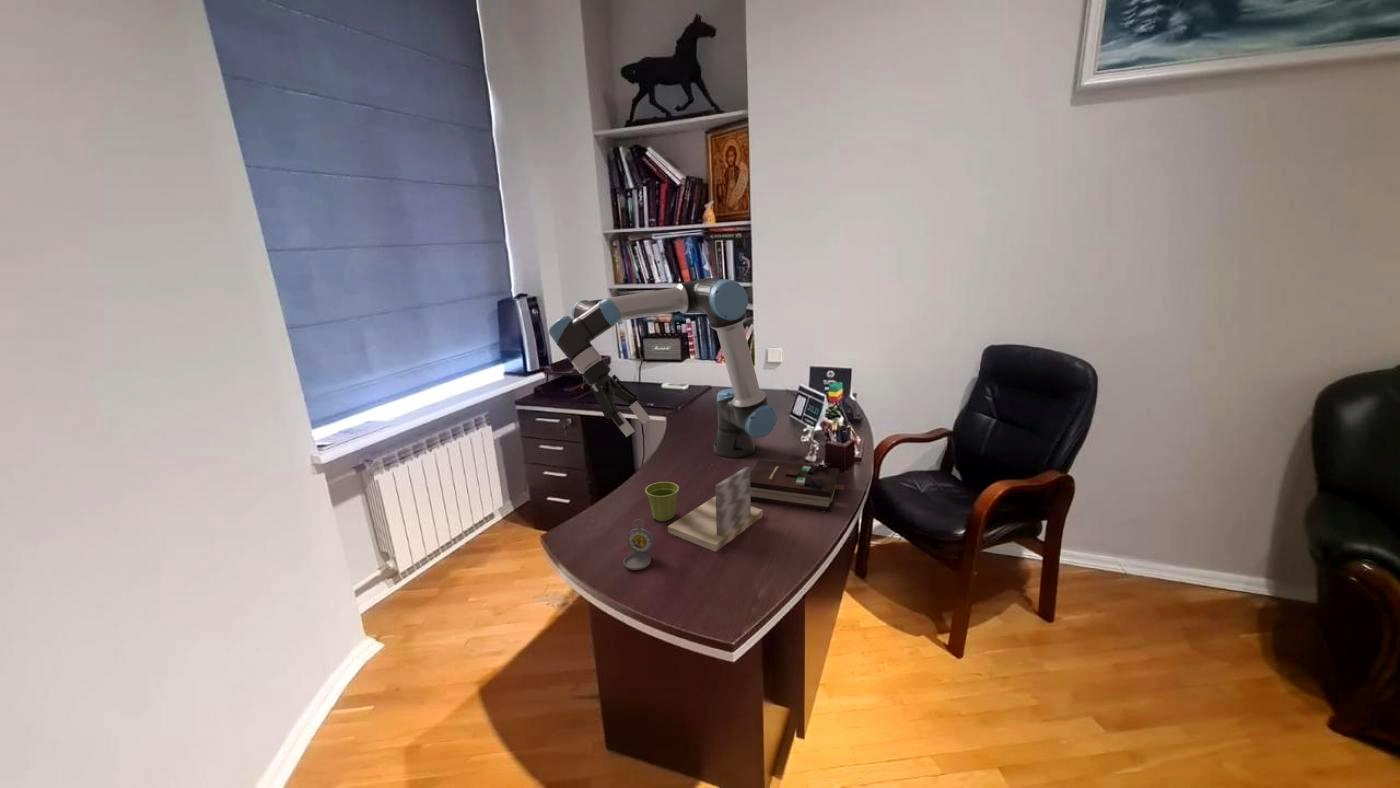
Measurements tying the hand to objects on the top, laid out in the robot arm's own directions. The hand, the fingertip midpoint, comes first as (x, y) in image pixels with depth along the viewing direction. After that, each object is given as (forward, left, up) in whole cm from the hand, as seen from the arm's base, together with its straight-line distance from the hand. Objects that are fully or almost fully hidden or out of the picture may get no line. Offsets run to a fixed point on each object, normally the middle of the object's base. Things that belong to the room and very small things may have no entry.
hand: (639, 427), depth 151 cm
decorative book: (-34, +30, -26) cm, 52 cm away
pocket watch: (+19, +17, -26) cm, 36 cm away
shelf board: (-6, +22, -26) cm, 34 cm away
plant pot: (-1, +7, -26) cm, 27 cm away
